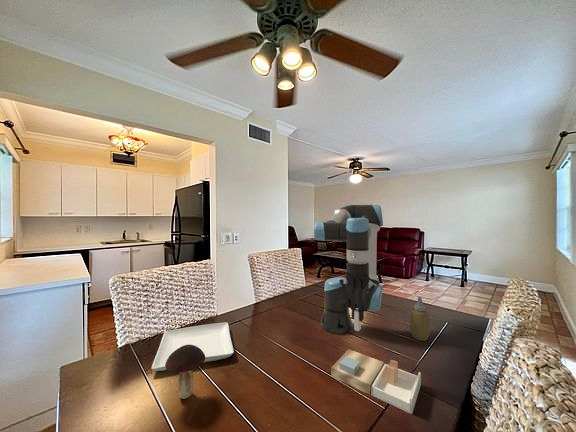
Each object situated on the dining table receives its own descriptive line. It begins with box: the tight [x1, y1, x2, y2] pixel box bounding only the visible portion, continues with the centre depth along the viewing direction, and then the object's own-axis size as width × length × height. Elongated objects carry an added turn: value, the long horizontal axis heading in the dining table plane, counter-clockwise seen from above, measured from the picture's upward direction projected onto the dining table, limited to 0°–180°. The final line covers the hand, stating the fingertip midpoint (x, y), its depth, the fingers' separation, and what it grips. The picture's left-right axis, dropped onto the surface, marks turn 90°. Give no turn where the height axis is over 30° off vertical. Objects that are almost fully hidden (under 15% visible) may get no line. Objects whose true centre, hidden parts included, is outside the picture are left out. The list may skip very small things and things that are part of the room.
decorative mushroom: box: [165, 345, 205, 400], centre depth 69 cm, size 11×11×15 cm
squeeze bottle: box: [409, 296, 431, 342], centre depth 103 cm, size 8×8×18 cm
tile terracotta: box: [387, 359, 399, 385], centre depth 76 cm, size 5×5×2 cm
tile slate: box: [339, 356, 360, 375], centre depth 78 cm, size 5×5×2 cm
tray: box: [370, 363, 422, 415], centre depth 72 cm, size 11×14×4 cm
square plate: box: [151, 321, 235, 372], centre depth 95 cm, size 27×27×4 cm
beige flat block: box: [330, 348, 385, 395], centre depth 80 cm, size 13×14×3 cm
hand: (357, 329), depth 82 cm, fingers closed
